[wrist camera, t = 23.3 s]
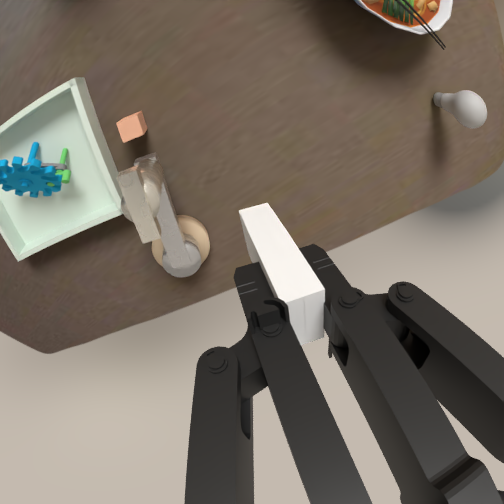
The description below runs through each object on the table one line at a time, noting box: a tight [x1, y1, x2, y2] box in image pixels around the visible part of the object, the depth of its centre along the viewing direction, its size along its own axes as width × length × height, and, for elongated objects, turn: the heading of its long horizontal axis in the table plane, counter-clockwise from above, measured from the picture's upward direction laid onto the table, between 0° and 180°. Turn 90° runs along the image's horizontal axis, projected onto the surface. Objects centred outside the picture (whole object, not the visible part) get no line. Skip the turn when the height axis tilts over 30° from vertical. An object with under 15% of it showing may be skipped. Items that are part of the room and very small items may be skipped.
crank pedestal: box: [152, 215, 210, 266], centre depth 39 cm, size 8×8×2 cm
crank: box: [116, 152, 201, 277], centre depth 29 cm, size 18×5×12 cm, turn 10°
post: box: [116, 111, 147, 143], centre depth 27 cm, size 2×2×4 cm
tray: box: [0, 78, 123, 261], centre depth 27 cm, size 20×18×4 cm
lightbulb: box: [433, 90, 487, 128], centre depth 30 cm, size 6×6×11 cm
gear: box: [0, 142, 71, 198], centre depth 25 cm, size 11×6×10 cm
